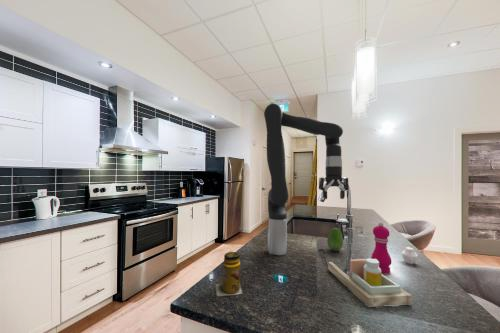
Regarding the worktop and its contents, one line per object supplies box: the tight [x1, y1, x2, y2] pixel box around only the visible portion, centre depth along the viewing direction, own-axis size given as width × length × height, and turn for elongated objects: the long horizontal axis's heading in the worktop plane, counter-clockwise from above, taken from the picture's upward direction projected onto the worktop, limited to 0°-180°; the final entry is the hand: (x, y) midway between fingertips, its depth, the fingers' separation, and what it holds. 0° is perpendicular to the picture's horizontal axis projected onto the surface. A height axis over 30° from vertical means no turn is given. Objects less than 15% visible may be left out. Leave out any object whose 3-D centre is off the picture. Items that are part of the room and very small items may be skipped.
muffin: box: [401, 246, 419, 265], centre depth 95 cm, size 6×6×7 cm
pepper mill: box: [370, 222, 393, 275], centre depth 87 cm, size 7×7×20 cm
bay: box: [327, 261, 412, 307], centre depth 76 cm, size 14×25×3 cm, turn 6°
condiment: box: [215, 251, 243, 298], centre depth 72 cm, size 7×8×12 cm
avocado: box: [326, 227, 344, 252], centre depth 109 cm, size 8×8×12 cm
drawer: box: [349, 258, 402, 294], centre depth 70 cm, size 10×11×9 cm
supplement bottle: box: [363, 257, 382, 286], centre depth 71 cm, size 5×5×10 cm
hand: (333, 198), depth 102 cm, fingers open, 8 cm apart
